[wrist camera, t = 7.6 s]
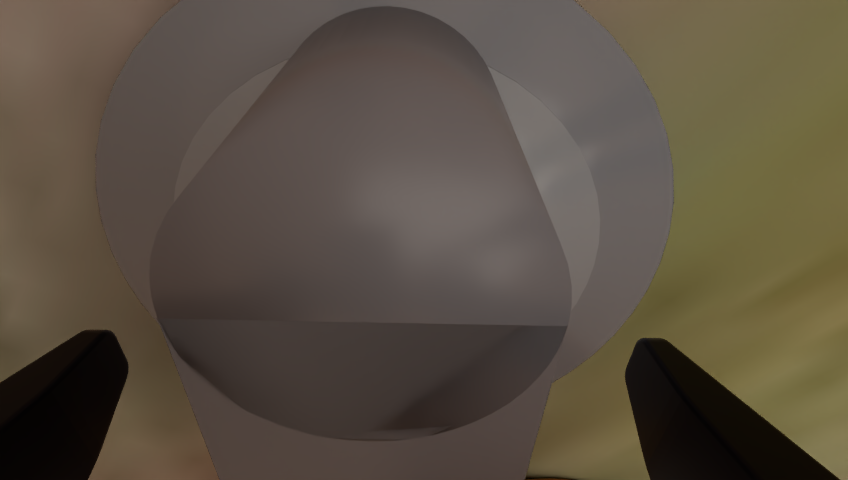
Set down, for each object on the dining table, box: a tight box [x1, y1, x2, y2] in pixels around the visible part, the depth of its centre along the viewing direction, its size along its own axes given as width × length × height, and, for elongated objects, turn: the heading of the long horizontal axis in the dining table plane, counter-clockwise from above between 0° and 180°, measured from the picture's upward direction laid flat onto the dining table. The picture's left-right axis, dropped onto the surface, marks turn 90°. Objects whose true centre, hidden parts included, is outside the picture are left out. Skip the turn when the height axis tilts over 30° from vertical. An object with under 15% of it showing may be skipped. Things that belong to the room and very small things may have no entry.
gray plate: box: [96, 0, 674, 383], centre depth 11 cm, size 12×12×1 cm
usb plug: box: [149, 6, 572, 480], centre depth 9 cm, size 4×12×5 cm, turn 178°
